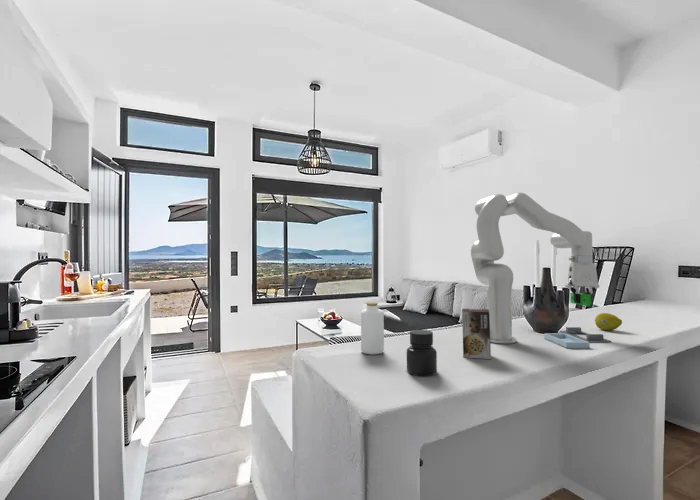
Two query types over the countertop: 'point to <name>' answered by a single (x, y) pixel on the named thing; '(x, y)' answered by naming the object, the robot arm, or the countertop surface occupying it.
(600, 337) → the rack rail
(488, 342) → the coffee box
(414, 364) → the ink bottle
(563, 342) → the parts tray
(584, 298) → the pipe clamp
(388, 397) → the countertop surface
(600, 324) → the lemon
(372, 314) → the white bottle
